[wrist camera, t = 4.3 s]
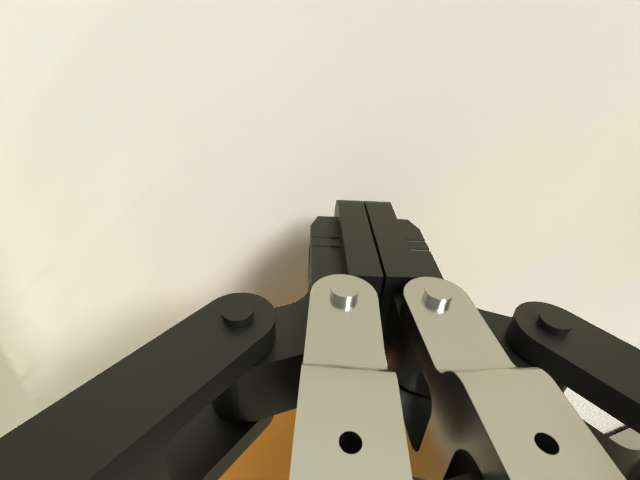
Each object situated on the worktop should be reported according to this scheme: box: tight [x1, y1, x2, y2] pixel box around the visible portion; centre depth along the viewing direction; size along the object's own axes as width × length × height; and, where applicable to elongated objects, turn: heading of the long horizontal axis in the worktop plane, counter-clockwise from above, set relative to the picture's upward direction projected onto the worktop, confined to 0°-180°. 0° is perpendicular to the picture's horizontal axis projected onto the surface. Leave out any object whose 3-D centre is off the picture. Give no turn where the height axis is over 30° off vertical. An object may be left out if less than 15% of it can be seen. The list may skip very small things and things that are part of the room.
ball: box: [219, 408, 297, 480], centre depth 14 cm, size 6×6×6 cm
